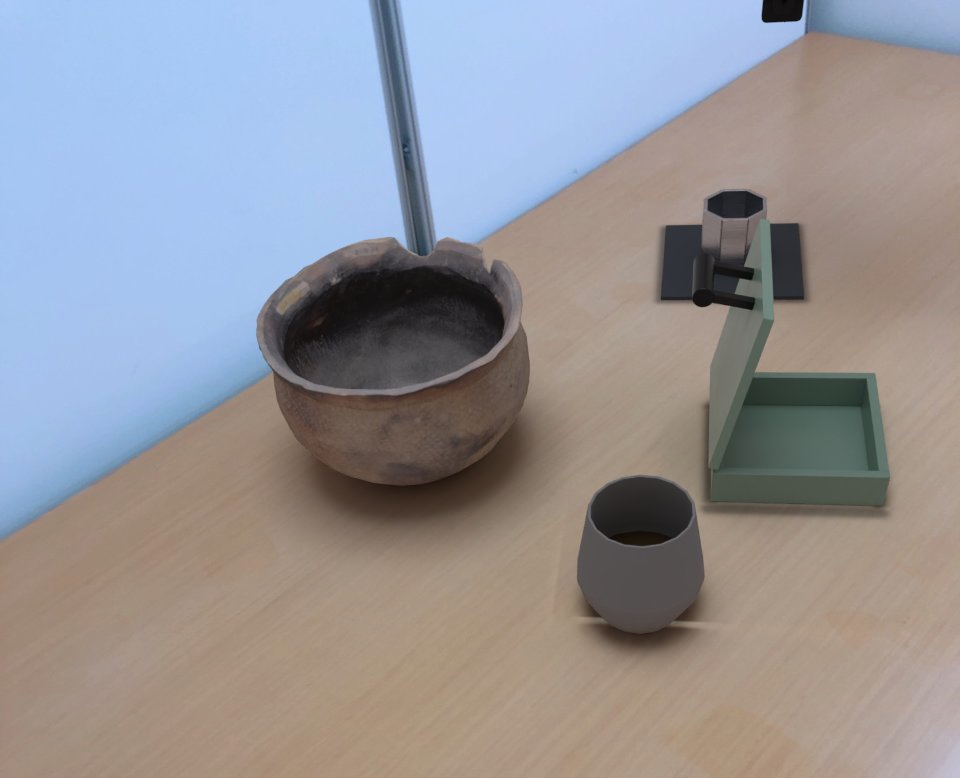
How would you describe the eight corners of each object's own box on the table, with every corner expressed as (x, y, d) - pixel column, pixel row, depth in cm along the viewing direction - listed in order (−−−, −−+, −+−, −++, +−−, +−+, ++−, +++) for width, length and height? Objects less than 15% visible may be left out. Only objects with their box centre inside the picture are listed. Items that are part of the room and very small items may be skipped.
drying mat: (797, 226, 118) (798, 223, 118) (803, 299, 109) (804, 296, 109) (665, 228, 120) (666, 225, 120) (660, 300, 111) (660, 296, 111)
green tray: (868, 408, 97) (875, 372, 94) (881, 513, 89) (890, 477, 86) (711, 406, 99) (714, 371, 97) (709, 508, 91) (712, 473, 88)
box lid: (770, 220, 85) (701, 207, 85) (774, 320, 77) (698, 305, 77) (718, 367, 96) (658, 356, 96) (717, 470, 88) (651, 457, 88)
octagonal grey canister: (760, 242, 116) (766, 188, 111) (761, 274, 112) (767, 219, 107) (700, 243, 117) (704, 189, 112) (699, 275, 113) (703, 220, 108)
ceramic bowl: (574, 401, 102) (568, 253, 91) (476, 558, 90) (455, 410, 78) (366, 360, 109) (337, 218, 98) (250, 500, 97) (201, 357, 86)
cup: (722, 589, 85) (733, 491, 77) (665, 670, 80) (670, 575, 73) (615, 547, 89) (615, 451, 81) (555, 622, 84) (548, 528, 77)
